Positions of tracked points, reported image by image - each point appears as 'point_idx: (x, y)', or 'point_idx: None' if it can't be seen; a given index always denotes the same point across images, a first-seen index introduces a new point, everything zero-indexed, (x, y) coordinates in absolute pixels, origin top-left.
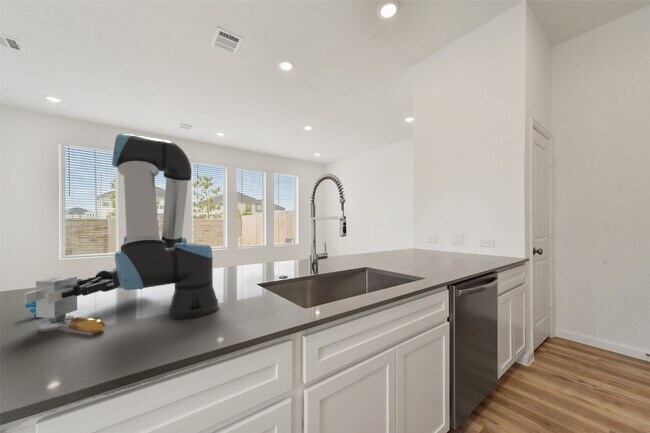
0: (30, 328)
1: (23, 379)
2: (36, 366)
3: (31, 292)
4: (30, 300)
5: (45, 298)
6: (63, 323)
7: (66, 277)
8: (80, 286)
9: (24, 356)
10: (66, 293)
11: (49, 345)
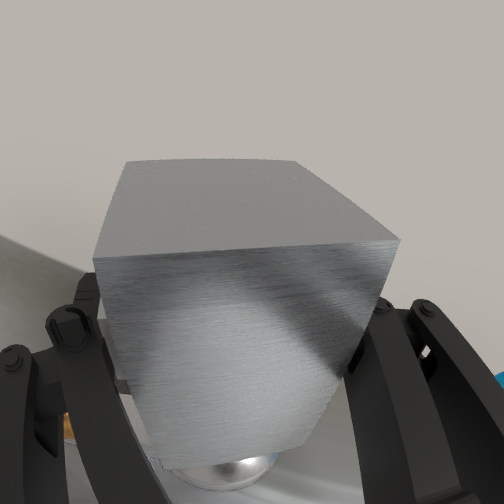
0: None
1: (5, 251)
2: (12, 270)
3: None
4: None
5: None
6: (126, 397)
7: (227, 222)
8: (84, 381)
9: (68, 287)
10: (82, 285)
11: None
